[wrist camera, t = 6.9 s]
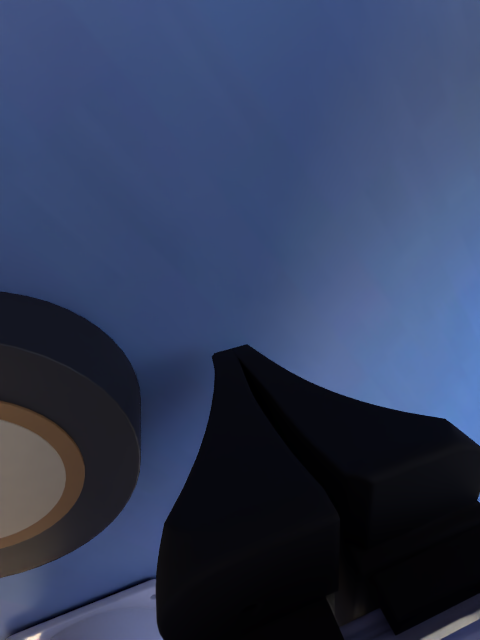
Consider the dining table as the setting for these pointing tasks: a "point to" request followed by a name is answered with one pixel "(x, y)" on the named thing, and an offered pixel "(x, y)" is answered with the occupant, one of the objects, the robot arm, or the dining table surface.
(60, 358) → the tape roll
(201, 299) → the dining table surface
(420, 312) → the dining table surface
